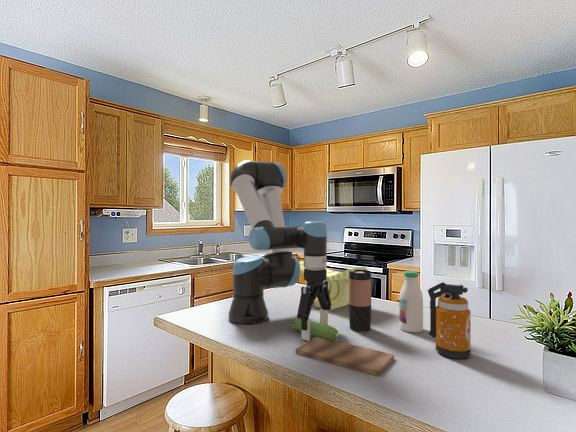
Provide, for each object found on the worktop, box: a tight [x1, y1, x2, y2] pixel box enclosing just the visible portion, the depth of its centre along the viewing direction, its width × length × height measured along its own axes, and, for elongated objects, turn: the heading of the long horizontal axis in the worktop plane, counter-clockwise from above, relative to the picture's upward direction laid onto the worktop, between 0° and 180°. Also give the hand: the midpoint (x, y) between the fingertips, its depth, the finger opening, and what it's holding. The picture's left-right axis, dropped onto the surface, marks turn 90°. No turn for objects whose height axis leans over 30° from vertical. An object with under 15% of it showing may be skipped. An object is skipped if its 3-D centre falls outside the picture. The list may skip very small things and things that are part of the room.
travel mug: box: [348, 269, 372, 333], centre depth 117 cm, size 8×8×20 cm
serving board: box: [295, 336, 395, 377], centre depth 94 cm, size 24×12×1 cm, turn 56°
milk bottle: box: [398, 270, 424, 333], centre depth 116 cm, size 8×8×20 cm
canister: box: [427, 281, 472, 359], centre depth 96 cm, size 9×11×20 cm
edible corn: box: [289, 317, 339, 341], centre depth 111 cm, size 5×20×5 cm
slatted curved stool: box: [298, 260, 368, 311], centre depth 149 cm, size 30×16×18 cm, turn 44°
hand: (315, 334), depth 111 cm, fingers open, 11 cm apart
